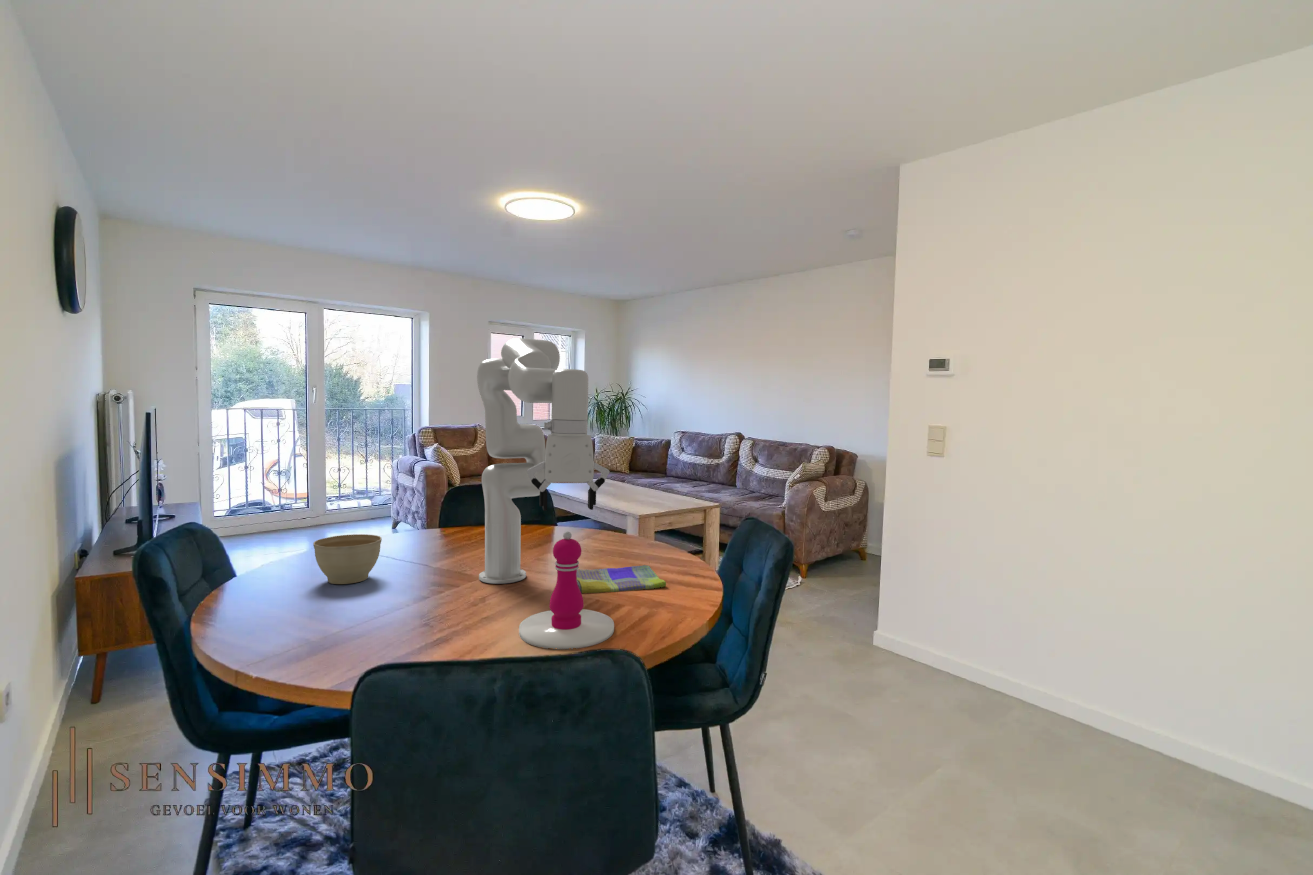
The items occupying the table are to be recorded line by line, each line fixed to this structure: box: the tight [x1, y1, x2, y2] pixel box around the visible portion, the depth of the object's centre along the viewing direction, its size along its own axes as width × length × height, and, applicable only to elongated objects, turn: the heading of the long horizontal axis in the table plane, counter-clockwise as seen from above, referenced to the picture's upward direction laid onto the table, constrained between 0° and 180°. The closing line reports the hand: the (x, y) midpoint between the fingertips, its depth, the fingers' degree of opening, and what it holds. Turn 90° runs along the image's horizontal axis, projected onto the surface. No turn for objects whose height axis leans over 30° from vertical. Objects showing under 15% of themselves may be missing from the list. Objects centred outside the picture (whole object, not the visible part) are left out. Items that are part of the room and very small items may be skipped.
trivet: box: [518, 608, 615, 650], centre depth 126 cm, size 20×20×1 cm
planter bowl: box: [313, 533, 383, 585], centre depth 158 cm, size 16×16×11 cm
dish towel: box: [576, 564, 667, 594], centre depth 162 cm, size 18×24×3 cm
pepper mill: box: [548, 531, 585, 630], centre depth 125 cm, size 7×7×20 cm
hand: (567, 509), depth 125 cm, fingers open, 9 cm apart
